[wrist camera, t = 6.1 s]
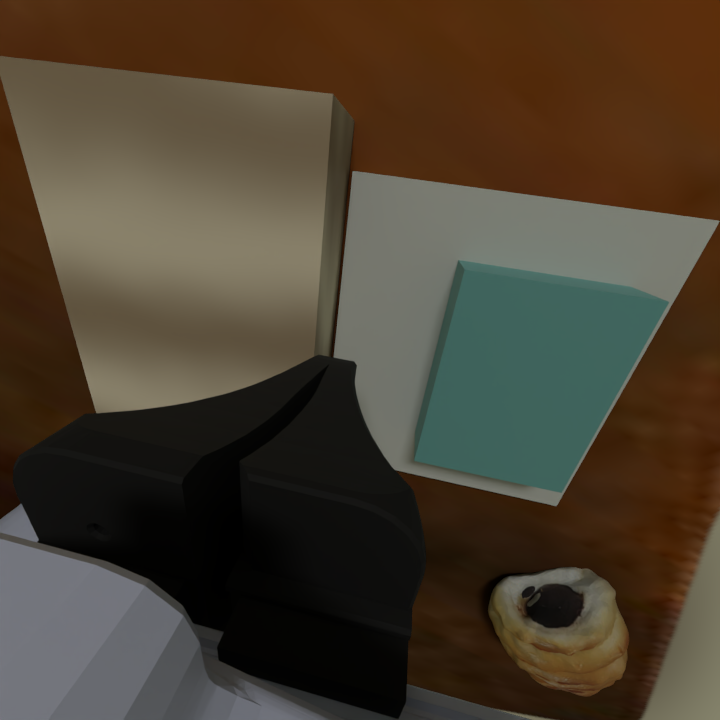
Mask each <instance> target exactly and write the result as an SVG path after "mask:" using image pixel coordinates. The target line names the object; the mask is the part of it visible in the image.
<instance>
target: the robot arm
mask: <svg viewBox="0 0 720 720" xmlns="http://www.w3.org/2000/svg"><path fill="white" fill-rule="evenodd" d="M356 368H357V365H356V363H355V362H354V361H349V360H344V359H339V358H334V357H329V356H323V355H317V356H314V357H312V358H310V359H308V360H306V361H304V362H302V363H300V364H298V365H296V366H294V367H292V368H290V369H288V370H286V371H284V372H282V373H280V374H278V375H275V376H273V377H271V378H268V379H266V380H264V381H261V382H259V383H256V384H254V385H251V386H248V387H245V388H242V389H239V390H236V391H233V392H230V393H226V394H223V395H219V396H214V397H210V398H206V399H202V400H197V401H193V402H188V403H182V404H177V405H171V406H164V407H157V408H150V409H141V410H131V411H119V412H107V413H94V414H84V415H83V416H81V417H79V418H78V419H76V420H75V421H73V422H72V423H70V424H68V425H67V426H65V427H64V428H62V429H61V430H59V431H57V432H56V433H54V434H53V435H51V436H49V437H48V438H46V439H45V440H43V441H42V442H40V443H38V444H37V445H35V446H34V447H32V448H31V449H29V450H27V451H26V452H24V453H23V454H21V455H20V456H19V458H18V459H17V461H16V463H15V465H14V470H13V484H14V487H15V490H16V493H17V496H18V498H19V500H20V502H21V504H20V505H19V506H18V507H16V508H15V509H14V510H12V511H11V512H10V513H8V514H7V515H6V516H4V517H3V518H2V519H0V720H530V719H527V718H523V717H520V716H516V715H513V714H509V713H506V712H502V711H499V710H495V709H492V708H488V707H485V706H481V705H478V704H474V703H471V702H467V701H464V700H460V699H457V698H453V697H450V696H446V695H443V694H439V693H436V692H432V691H429V690H425V689H422V688H418V687H415V686H411V685H408V684H407V661H408V640H409V639H410V637H411V630H412V607H413V604H414V601H415V598H416V595H417V593H418V590H419V587H420V584H421V582H422V579H423V576H424V572H425V565H426V550H425V542H424V535H423V529H422V523H421V519H420V515H419V510H418V506H417V503H416V499H415V495H414V492H413V490H412V489H411V487H410V486H409V485H408V484H407V483H406V482H405V481H404V480H403V478H402V477H401V476H400V475H399V474H398V473H397V472H396V471H395V470H394V469H393V468H392V466H391V465H390V464H389V462H388V461H387V459H386V458H385V457H384V455H383V454H382V452H381V450H380V449H379V447H378V445H377V444H376V442H375V440H374V439H373V437H372V435H371V433H370V431H369V429H368V427H367V425H366V422H365V420H364V418H363V415H362V412H361V409H360V406H359V402H358V398H357V394H356V388H355V376H356Z"/></svg>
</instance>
